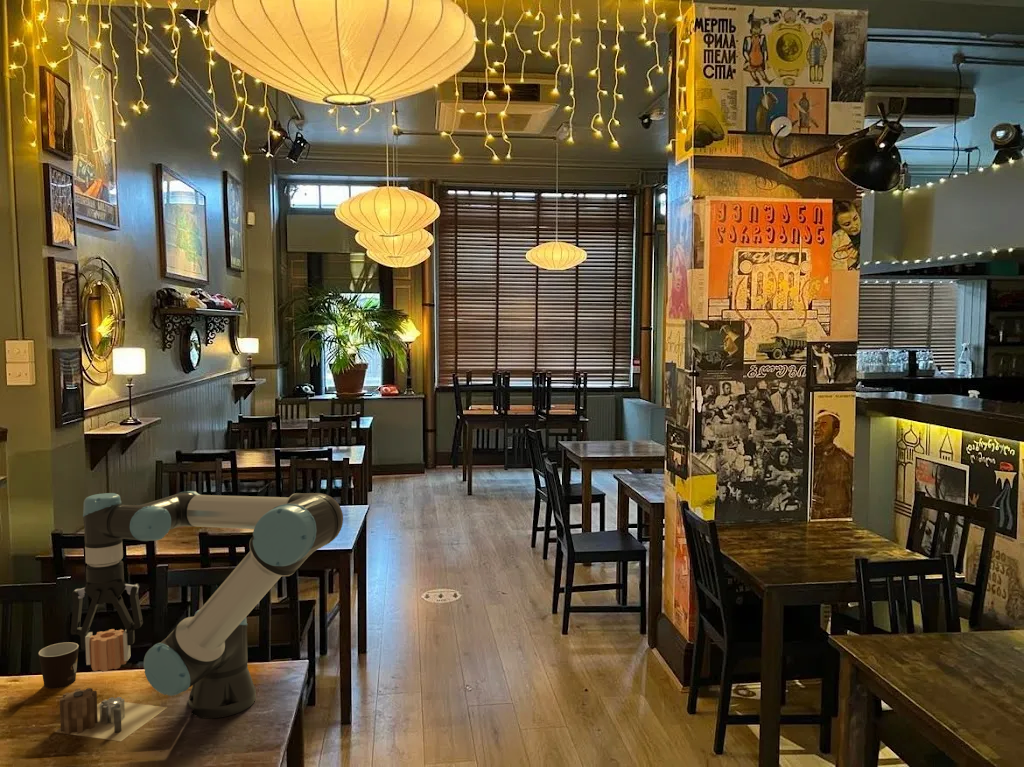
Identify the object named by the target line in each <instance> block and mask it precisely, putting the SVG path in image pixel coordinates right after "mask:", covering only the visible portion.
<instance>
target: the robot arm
mask: <svg viewBox="0 0 1024 767" xmlns="http://www.w3.org/2000/svg"><path fill="white" fill-rule="evenodd" d="M122 502H123V501H122V500H121V495H120V494H117V493H116V492H107V493H106V492H104V493H97V494H92V495H89V496H86V497H85V499H84V500H83V511H82V513H83V514H82V518H83V529H84V530H83V533H84V552H85V556H84V557H85V561H84V562H85V564H87V565H86V566H85V577H86V578H85V579H86V580H85V581H86V584H85V586H84V587H82V588H77V587H76V588H75V589H74V590H73V591H72V592H71V599H72V602H73V604H72V614H71V624H70V625H71V626H70V634H71V635H74V636H75V635H76V636H77V635H78V636H79V637H80V638H79V639H80V650H85V663H86V666H91V647H90V637H91V636H93V633H94V632H93V631H90V630H91V629H90V628H91V625H92V623H93V620H94V617H95V615H96V612H97V609H98V606H99V605H103V604H112V606H113V608H115V610H116V612H117V615H118V616H119V618H120V620H121V622H122V624H123V626H124V629H125V630H124V633H123V646H124V661H127V662H128V661H129V659H130V658H131V646H133V645H134V643H135V642H136V640H135V639H136V636H135V635H136V634H135V630H138V629H140V628H141V627H142V625H143V624H144V620H143V615H142V609H141V604H140V598H139V590H140V584H139V583H135V584H129V583H127V582H126V581H125V575H124V574H125V571H124V570H125V569H124V561H123V560H122V559H123V557H124V550H123V549H124V548H123V540H124V539H125V540H135V541H140V542H149V541H151V542H152V541H153V542H154V541H160V540H162V539H164V538H165V536H166V535H167V534H168V533H169V532H170V530H173V529H175V528H179V527H198V528H199V527H201V528H215V529H217V528H219V529H220V528H222V529H240V530H243V529H245V530H253V531H252V537H251V538H250V540H249V543H248V544H249V546H248V548H249V552H248V553H247V554H246V555H245V556H244V557H243V558H242V560H241V561H240V562H239V563H238V564H237V565H236V566H235V568H234V569H233V570H232V571H231V573H230V574H229V575H228V576H227V577H226V578H225V580H224V581H223V582H222V583H221V584H220V586H219V587H218V588H217V589H216V590H215V591H214V592H213V594H211V596H210V597H209V598H208V599H207V600H206V602H205V603H204V604H203V605H202V606H201V608H200V609H198V610H197V611H196V610H195V613H194V616H188V617H185V618H183V619H182V620H181V621H179V623H178V624H177V625H176V627H175V628H173V630H172V631H171V632H170V633H169V634H168V635H167V637H166V638H164V639H163V640H162V641H161V642H157V643H155V644H153V646H151V647H150V648H149V649H148V650H147V651H146V653H145V655H144V658H143V669H144V675H145V678H146V680H147V681H148V683H149V684H150V686H151V687H152V688H153V689H154V690H155V691H156V692H158V693H159V694H162V695H167V696H171V697H173V696H176V695H179V694H182V693H183V692H186V691H187V690H189V688H191V690H190V692H189V697H188V706H189V707H190V709H192V711H191V713H190V714H192V715H193V716H195V717H198V718H203V719H218V718H225V717H229V716H233V715H237V714H240V713H241V712H244V711H245V710H247V709H249V708H250V707H251V706H252V705H253V704H254V703H255V702H256V698H257V694H256V692H257V690H256V685H255V684H254V682H253V678H252V675H251V672H250V671H249V667H248V666H249V664H248V625H249V624H248V623H247V622H248V620H247V616H249V614H250V613H251V612H252V611H253V609H255V607H256V606H257V605H258V604H259V603H260V601H261V600H262V599H263V598H264V597H265V596H266V594H268V592H270V590H271V589H272V588H273V587H274V585H275V584H276V583H278V581H279V580H280V579H281V577H290V576H292V575H293V574H294V573H296V571H298V569H299V568H300V567H301V566H302V564H304V562H306V560H307V559H308V558H309V557H310V556H311V555H312V554H313V553H314V552H316V551H317V550H319V549H321V548H323V547H325V546H327V545H329V544H331V542H333V541H334V540H335V539H336V538H337V537H338V535H339V533H340V532H341V530H342V527H343V524H344V514H343V511H342V508H341V506H340V504H339V502H338V501H337V500H335V499H334V498H333V497H332V496H331V495H328V494H326V493H320V492H315V493H314V492H309V493H308V492H307V493H305V492H304V493H301V492H296V493H292V494H291V495H290V496H289V497H286V496H281V497H280V496H249V495H221V494H220V495H219V494H218V495H217V494H216V495H215V494H212V495H211V494H200V493H198V492H197V491H195V490H187V491H180V492H177V493H175V494H173V495H170V496H166V497H163V498H160V499H157V500H153V501H150V502H145V503H142V504H136V505H135V504H122ZM125 590H126V593H127V594H128V595H129V603H130V607H131V612H132V616H131V615H130V613H129V611H128V609H127V606H126V605H125V602H124V598H123V596H122V594H123V593H124V591H125ZM85 594H86V595H87V596H88V597H89V598H90V600H91V601H90V603H89V607H88V610H87V613H86V615H85V617H84V621H83V623H82V627H81V621H82V620H81V618H82V611H83V610H82V609H83V601H84V600H83V598H84V597H85ZM132 617H133V618H132ZM254 701H255V702H254Z"/></svg>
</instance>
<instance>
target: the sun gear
mask: <svg viewBox="0 0 1024 767" xmlns="http://www.w3.org/2000/svg"><path fill="white" fill-rule="evenodd" d="M100 702H101V704H100V723H103V725H107V724H108V723H111V724H114V709H115V708H121V721H122V720H123V718H124V717H125V706H124V702H125V698H122V697H121V696H118V697H116V698H115V697H109V698H108V699H103V700H102V701H100Z"/></svg>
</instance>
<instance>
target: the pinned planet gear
mask: <svg viewBox="0 0 1024 767" xmlns="http://www.w3.org/2000/svg"><path fill="white" fill-rule="evenodd" d="M97 695H98V693H97V690H94V689H93V688H91V687H88V688H86V689H81V688H77V689H74V691H72V692H65V693H64V694H62V697H61V698H59V715H60V716H59V717H60V723H59V724H60V728H61V731H64V732H65V733H64V735H71V734H70V733H72V732H77V734H79V733H83V730H86V729H92V728H94V727H95V723H98V717H97V704H98V696H97Z"/></svg>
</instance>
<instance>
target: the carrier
mask: <svg viewBox="0 0 1024 767" xmlns="http://www.w3.org/2000/svg"><path fill="white" fill-rule="evenodd" d="M101 702H102V701H100V702H99V703H97V717H98V723H95V727H94V728H92V729H86V730H83V733H79V734H77V732H72V733H70V734H69V735H73V736H79V737H85V738H87V737H88V738H93V739H100V740H109V741H115V742H122V741H124V740H125V739H127V737H129V736H131V735H132V734H134V733H135V732H136V731H138V729H141V728H142V727H143V726H145V724H147V723H149V722H150V721H151V720H153V718H156V717H157V716H158V715H159V714H161V713H162V712H164V711H165V710H166V709H168V707H167V706H157V705H151V704H143V703H136V702H135V703H134V702H127V701H124V706H125V717H124V718H123V720H122V721H121V708H115V709H114V724H111V723H108V724H107V725H103V723H100V704H101ZM54 733H57V734H58V733H59V734H65V732H64V731H61V727H59V728H58V729H56V730H54Z"/></svg>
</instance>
